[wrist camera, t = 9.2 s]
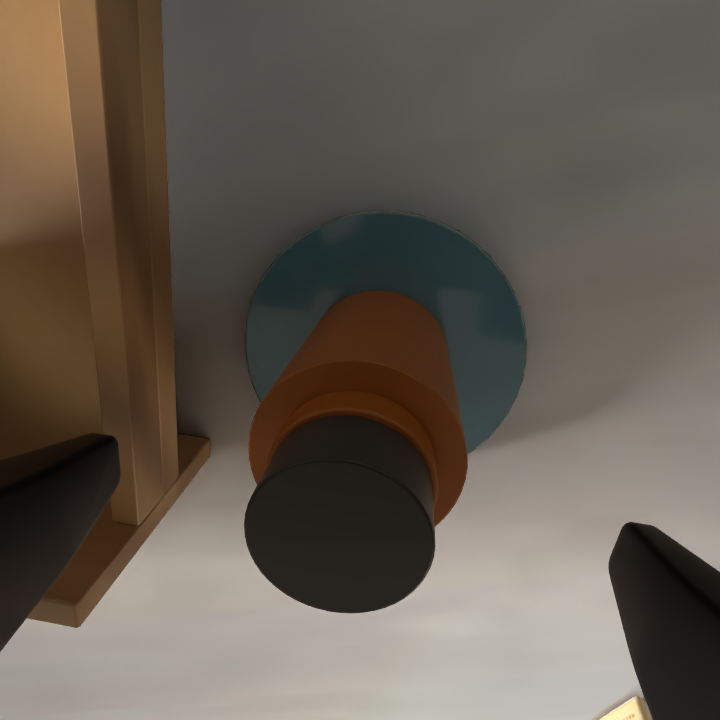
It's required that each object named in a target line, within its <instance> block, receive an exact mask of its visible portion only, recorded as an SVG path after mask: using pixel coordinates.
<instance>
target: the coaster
mask: <svg viewBox="0 0 720 720" xmlns="http://www.w3.org/2000/svg"><path fill="white" fill-rule="evenodd" d="M371 290H384V291H391V292H396V293H399V294H402V295H405V296H407V297H409V298H411V299H413V300H415V301H417V302H418V303H420V304H421V305H422V306H424V307H425V308H426V309H427V310H428V311H429V312H430V313H431V314H432V315H433V316H434V318H435V319H436V320H437V322H438V323H439V325H440V327H441V329H442V331H443V333H444V336H445V339H446V342H447V347H448V352H449V357H450V363H451V368H452V373H453V378H454V384H455V389H456V394H457V400H458V405H459V410H460V415H461V421H462V426H463V431H464V436H465V442H466V448H467V454H469V453H470V452H472V451H473V450H475V449H476V448H477V447H479V446H480V445H481V444H482V443H483V442H484V441H486V440H487V439H488V438H489V437H490V436H491V435H492V433H493V432H494V431H495V430H496V429H497V428H498V427H499V426H500V424H501V423H502V421H503V420H504V418H505V417H506V415H507V414H508V413H509V411H510V409H511V407H512V405H513V403H514V401H515V399H516V397H517V395H518V392H519V389H520V386H521V383H522V380H523V376H524V370H525V365H526V354H527V340H526V330H525V323H524V319H523V315H522V311H521V307H520V305H519V303H518V300H517V298H516V295H515V293H514V290H513V289H512V287H511V285H510V284H509V282H508V280H507V278H506V277H505V275H504V273H503V272H502V271H501V270H500V268H499V267H498V266H497V265H496V263H495V262H494V261H493V260H492V259H491V257H490V256H489V255H488V254H486V253H485V252H484V251H483V250H482V249H481V248H480V247H479V246H478V245H477V244H476V243H475V242H474V241H472V240H471V239H469V238H468V237H466V236H465V235H464V234H462V233H461V232H459V231H458V230H456V229H454V228H452V227H450V226H448V225H446V224H444V223H442V222H440V221H437V220H434V219H431V218H428V217H426V216H423V215H418V214H413V213H408V212H403V211H388V210H379V211H367V212H360V213H356V214H351V215H347V216H343V217H340V218H338V219H335V220H332V221H330V222H327V223H325V224H322V225H320V226H318V227H317V228H315V229H313V230H311V231H309V232H307V233H306V234H304V235H303V236H301V237H300V238H299V239H297V240H296V241H295V242H293V243H292V244H291V245H289V246H288V247H287V248H286V249H285V250H284V251H283V252H282V253H281V254H280V255H279V256H278V257H277V258H276V260H275V261H274V262H273V264H272V265H271V266H270V268H269V269H268V270H267V272H266V273H265V275H264V276H263V278H262V280H261V282H260V284H259V285H258V287H257V289H256V292H255V295H254V297H253V300H252V302H251V305H250V309H249V314H248V318H247V323H246V334H245V347H246V359H247V364H248V370H249V374H250V377H251V380H252V384H253V387H254V389H255V391H256V394H257V396H258V398H259V400H260V402H262V401H263V399H264V398H265V396H266V395H267V394H268V392H269V391H270V389H271V388H272V387H273V385H274V384H275V382H276V381H277V380H278V378H279V377H280V375H281V374H282V373H283V371H284V370H285V368H286V367H287V366H288V364H289V363H290V361H291V360H292V359H293V357H294V356H295V354H296V353H297V352H298V350H299V349H300V347H301V346H302V345H303V343H304V342H305V340H306V339H307V338H308V336H309V335H310V333H311V332H312V331H313V329H314V328H315V326H316V325H317V324H318V322H319V321H320V319H321V318H322V317H323V316H324V314H325V313H326V312H327V311H328V310H329V309H330V308H331V307H332V306H333V305H334V304H336V303H337V302H339V301H340V300H342V299H344V298H346V297H348V296H350V295H353V294H356V293H359V292H364V291H371Z"/></svg>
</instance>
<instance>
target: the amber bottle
mask: <svg viewBox="0 0 720 720" xmlns="http://www.w3.org/2000/svg"><path fill="white" fill-rule="evenodd" d="M248 447H249V460H250V465H251V470H252V473H253V476H254V479H255V481H256V483H257V487H256V489H255V491H254V493H253V495H252V497H251V499H250V501H249V503H248V506H247V509H246V513H245V521H244V528H245V538H246V543H247V547H248V549H249V552H250V555H251V557H252V558H253V560H254V562H255V564H256V565H257V567H258V568H259V570H260V571H261V573H262V574H263V575H264V576H265V577H266V578H267V579H268V580H269V581H270V582H271V583H272V584H273V585H274V586H275V587H277V588H278V589H279V590H281V591H282V592H283V593H285V594H286V595H288V596H290V597H291V598H293V599H295V600H297V601H299V602H301V603H304V604H306V605H308V606H311V607H314V608H317V609H322V610H326V611H331V612H338V613H364V612H370V611H375V610H379V609H382V608H386V607H388V606H390V605H393V604H395V603H397V602H399V601H400V600H402V599H404V598H405V597H407V596H408V595H409V594H411V593H412V592H413V591H414V590H415V589H416V588H417V587H418V586H419V585H420V584H421V582H422V581H423V580H424V578H425V577H426V575H427V573H428V571H429V569H430V567H431V564H432V561H433V558H434V552H435V528H434V527H435V526H436V525H437V524H439V523H440V522H441V521H442V520H443V519H444V518H445V517H446V516H447V514H448V513H449V512H450V511H451V509H452V508H453V506H454V505H455V503H456V502H457V500H458V498H459V496H460V494H461V492H462V489H463V486H464V483H465V480H466V473H467V448H466V442H465V436H464V431H463V426H462V421H461V415H460V410H459V405H458V400H457V394H456V389H455V384H454V378H453V373H452V368H451V363H450V357H449V352H448V347H447V342H446V339H445V336H444V333H443V331H442V329H441V327H440V325H439V323H438V322H437V320H436V319H435V318H434V316H433V315H432V314H431V313H430V312H429V311H428V310H427V309H426V308H425V307H424V306H422V305H421V304H420V303H418V302H417V301H415V300H413V299H411V298H409V297H407V296H405V295H402V294H399V293H396V292H391V291H384V290H371V291H364V292H359V293H356V294H353V295H350V296H348V297H346V298H344V299H342V300H340V301H339V302H337V303H336V304H334V305H333V306H332V307H331V308H330V309H329V310H328V311H327V312H326V313H325V314H324V316H323V317H322V318H321V319H320V321H319V322H318V324H317V325H316V326H315V328H314V329H313V331H312V332H311V333H310V335H309V336H308V338H307V339H306V340H305V342H304V343H303V345H302V346H301V347H300V349H299V350H298V352H297V353H296V354H295V356H294V357H293V359H292V360H291V361H290V363H289V364H288V366H287V367H286V368H285V370H284V371H283V373H282V374H281V375H280V377H279V378H278V380H277V381H276V382H275V384H274V385H273V387H272V388H271V389H270V391H269V392H268V394H267V395H266V396H265V398H264V399H263V401H262V402H261V404H260V406H259V407H258V409H257V411H256V414H255V416H254V418H253V421H252V425H251V428H250V433H249V443H248Z"/></svg>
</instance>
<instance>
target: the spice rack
mask: <svg viewBox="0 0 720 720" xmlns="http://www.w3.org/2000/svg"><path fill="white" fill-rule="evenodd" d="M89 433H99V434H105V435H111V436H113V437H115V438H116V440H117V442H118V448H119V459H120V470H121V477H120V482H119V485H118V487H117V489H116V490H115V492H114V494H113V495H112V497H111V498H110V500H109V501H108V503H107V505H106V506H105V508H104V509H103V511H102V512H101V514H100V516H99V517H98V519H97V520H96V522H95V524H94V525H93V527H92V528H91V530H90V531H89V533H88V535H87V536H86V538H85V539H84V541H83V542H82V544H81V546H80V547H79V549H78V550H77V552H76V553H75V555H74V556H73V558H72V559H71V561H70V562H69V563H68V565H67V566H66V567H65V569H64V570H63V571H62V573H61V574H60V576H59V577H58V578H57V579H56V581H55V582H54V583H53V585H52V586H51V587H50V588H49V590H48V591H47V592H46V594H45V595H44V596H43V597H42V599H41V600H40V601H39V603H38V604H37V605H36V606H35V608H34V609H33V610H32V612H31V613H30V614H29V615H28V617H27V618H29V619H34V620H39V621H44V622H49V623H54V624H59V625H65V626H70V627H75V628H78V627H80V626H81V624H82V623H83V622H84V621H85V619H86V618H87V617H88V615H89V614H90V613H91V611H92V610H93V609H94V607H95V606H96V605H97V603H98V602H99V601H100V600H101V598H102V597H103V596H104V594H105V593H106V592H107V590H108V589H109V588H110V586H111V585H112V584H113V583H114V581H115V580H116V579H117V577H118V576H119V575H120V573H121V572H122V571H123V569H124V568H125V567H126V565H127V564H128V563H129V562H130V560H131V559H132V558H133V556H134V555H135V554H136V552H137V551H138V550H139V548H140V547H141V546H142V545H143V543H144V542H145V541H146V539H147V538H148V537H149V535H150V534H151V533H152V531H153V530H154V529H155V527H156V526H157V525H158V524H159V522H160V521H161V520H162V518H163V517H164V516H165V514H166V513H167V512H168V510H169V509H170V508H171V506H172V505H173V504H174V503H175V501H176V500H177V499H178V497H179V496H180V495H181V493H182V492H183V491H184V489H185V488H186V487H187V486H188V484H189V483H190V482H191V480H192V479H193V478H194V476H195V475H196V474H197V472H198V471H199V470H200V468H201V467H202V466H203V465H204V463H205V462H206V461H207V459H208V458H209V457H210V440H209V439H206V438H200V437H193V436H187V435H181V434H177V420H176V393H175V366H174V339H173V313H172V286H171V259H170V232H169V205H168V178H167V151H166V125H165V98H164V71H163V44H162V17H161V0H0V460H4V459H7V458H10V457H14V456H17V455H20V454H23V453H27V452H30V451H33V450H36V449H40V448H43V447H46V446H50V445H53V444H56V443H59V442H63V441H66V440H69V439H72V438H76V437H79V436H82V435H86V434H89Z"/></svg>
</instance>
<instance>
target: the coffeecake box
mask: <svg viewBox="0 0 720 720" xmlns="http://www.w3.org/2000/svg"><path fill="white" fill-rule="evenodd" d="M599 720H653V719H652V716H651V713H650V711H649V708H648V705H647V703H646V701H644V700H643V699H641V698H640V697H638V696H635V697H633V698H631V699H629V700H628V701H627V702H625V703H623V704H622V705H620V706H619V707H617V708H616V709H614V710H613V711H611V712H610V713H608V714H607V715H605V716H604V717H602V718H601V719H599Z"/></svg>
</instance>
